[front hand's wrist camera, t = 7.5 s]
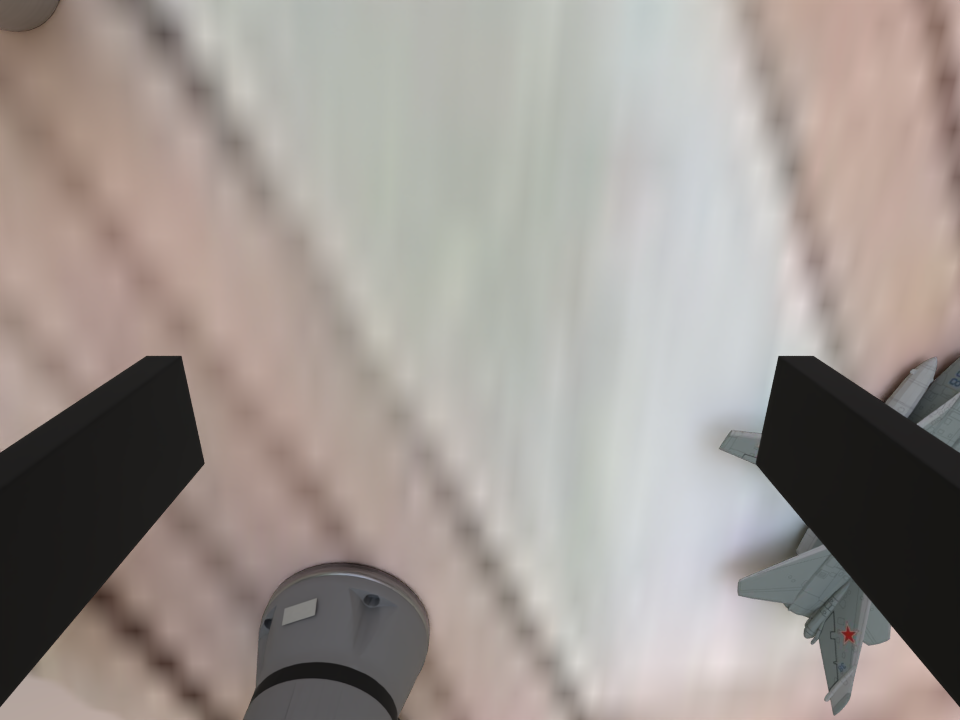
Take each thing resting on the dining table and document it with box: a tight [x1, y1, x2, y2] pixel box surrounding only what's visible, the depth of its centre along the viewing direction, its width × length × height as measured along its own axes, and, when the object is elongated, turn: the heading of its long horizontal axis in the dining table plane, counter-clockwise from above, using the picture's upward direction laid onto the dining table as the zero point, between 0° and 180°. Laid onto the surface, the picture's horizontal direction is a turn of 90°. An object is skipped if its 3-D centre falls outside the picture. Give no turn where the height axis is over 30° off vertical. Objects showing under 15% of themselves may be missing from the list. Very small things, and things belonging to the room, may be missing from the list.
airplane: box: [719, 357, 960, 715], centre depth 40 cm, size 38×31×10 cm
